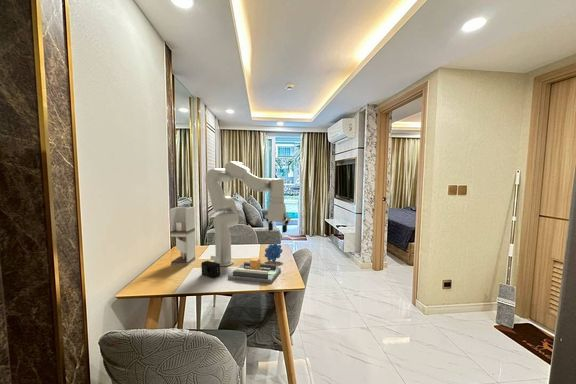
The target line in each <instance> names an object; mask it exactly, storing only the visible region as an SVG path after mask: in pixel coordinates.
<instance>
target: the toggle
mask: <svg viewBox="0 0 576 384" xmlns="http://www.w3.org/2000/svg"><path fill="white" fill-rule="evenodd" d="M249 262H250V270H260V271H261V270H262V269H260V263H261V257H252V258H251V259H250V260H249Z"/></svg>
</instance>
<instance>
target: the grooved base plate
mask: <svg viewBox="0 0 576 384" xmlns="http://www.w3.org/2000/svg"><path fill="white" fill-rule="evenodd" d="M243 265H244V267H245V266H249V267H250V261H245V262H243ZM260 268H271V269H276V268H277V264H274V263H273V264H272V263H261V262H260ZM236 269H237V270H236ZM236 269H234V270H232V272H233V275H238V276H248V277H258V278H268V271H260V270H249V269H238V267H236Z"/></svg>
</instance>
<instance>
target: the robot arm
mask: <svg viewBox="0 0 576 384" xmlns="http://www.w3.org/2000/svg"><path fill="white" fill-rule="evenodd" d="M204 179H205V184H206V188H207V191H208V195H209V198H210V203H211V207H212V209H213V211H214V212H217V213H218V214H216V215H215V216H214V217H213V227H214V239H215V242H214V244H215V249H214V250H215V255H210V259H209V260H212V261H213V262H215V263H219V264H220V267H228V266H231V265H233V264H234V261H235V260H234V259H232V235H231V234H232V233H231V231H230V229H229V228H233V227H235V226H237V225H238V224H239V222H240V221H239V220H240V218H239V212H238V209H237V204H236V201H235V199H234V198H233V197H232V196H230V195H229V196H228V195H225V194H224V189H223V188H222V186H221V185H220V183H227V182H232V181H234V180H236V179H237V180H239V181H241V182H242V183H243V185H244V186H246V187H247V188H249V189H251V190H252V191H255V192H259V193H262V192H269V193H270V194H269V195H270V196H269V198H268V200H269V204H268V208H267V214H265V215H264V219H265V221H266V223H267V226H268V232H271V231H273V229H274V226H273V225H274V224H273V223H274V222H277V223H278V222H279V223H281V224H282V226H281V227H282V228H281V229H282V230H281V231H282V233H283V234H285V233H287V231H288V224H289V223H290V221H291V219H292V217H291V216H290V215H288V214H287V208H286V204H285V182H284V179H283V178H280V177H279V178H269V177H264V178H263V177H258V176H255V175H254V174H252V170H251V169H250V168H249V167H247V166H246V164H244V163H243V162H242V161H232V160H231V161H227V162H226V163H225V164H224V168H222V167H221V168H219V167H218V168H217V167H214V168H211V169H209V170H208V171H207V172H206V174H205V178H204ZM221 212H223V213H221Z"/></svg>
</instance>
